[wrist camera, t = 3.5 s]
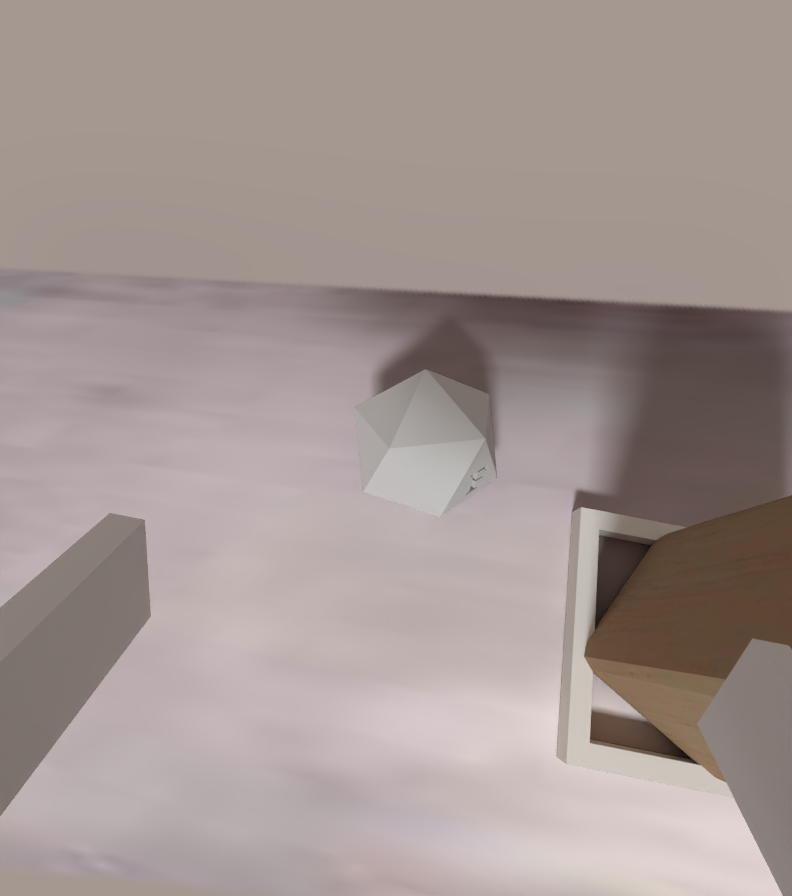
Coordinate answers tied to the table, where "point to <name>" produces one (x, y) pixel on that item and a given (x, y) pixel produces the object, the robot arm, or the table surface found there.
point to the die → (426, 443)
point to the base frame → (579, 675)
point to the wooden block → (696, 618)
